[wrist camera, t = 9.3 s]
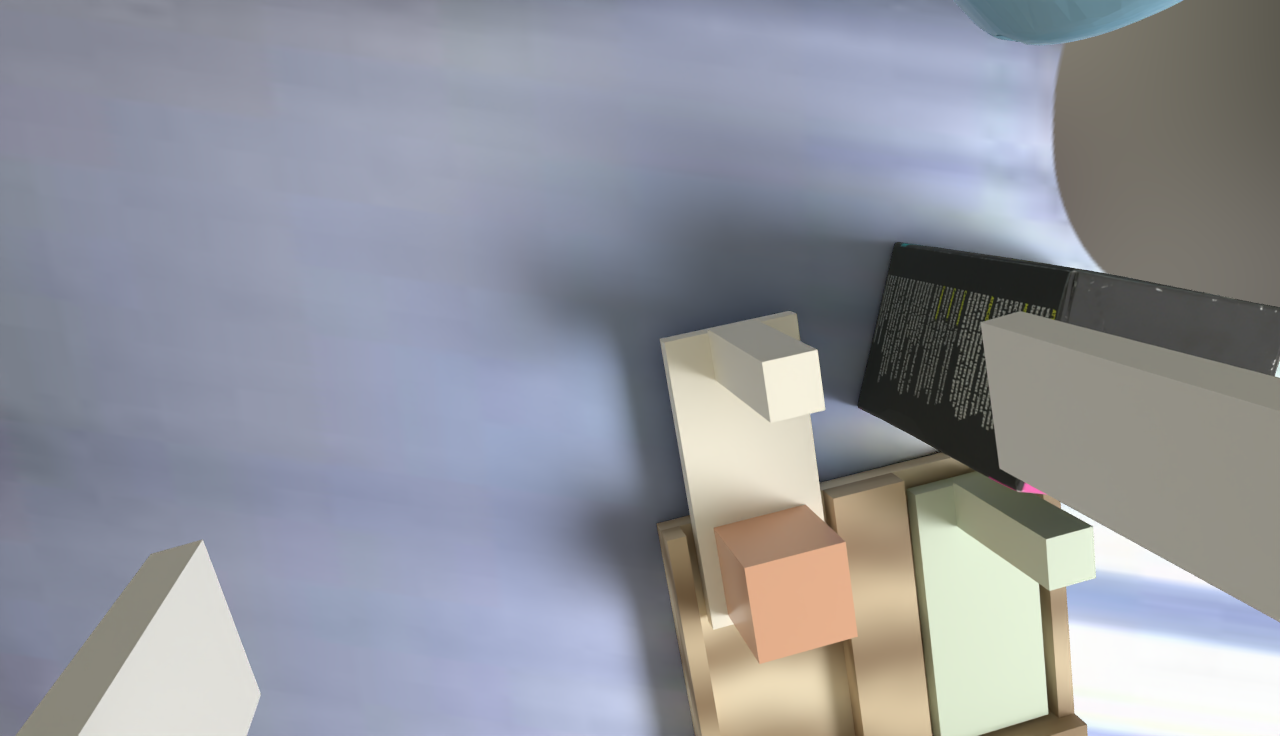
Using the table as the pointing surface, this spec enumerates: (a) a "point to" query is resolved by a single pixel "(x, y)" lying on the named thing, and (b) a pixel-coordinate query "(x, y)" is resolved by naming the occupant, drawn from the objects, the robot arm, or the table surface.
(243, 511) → the table surface
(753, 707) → the lane board
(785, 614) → the cube
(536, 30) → the table surface
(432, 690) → the table surface
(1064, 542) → the pale green l-shaped bracket
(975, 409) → the tampon box
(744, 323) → the strip cream
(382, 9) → the table surface
